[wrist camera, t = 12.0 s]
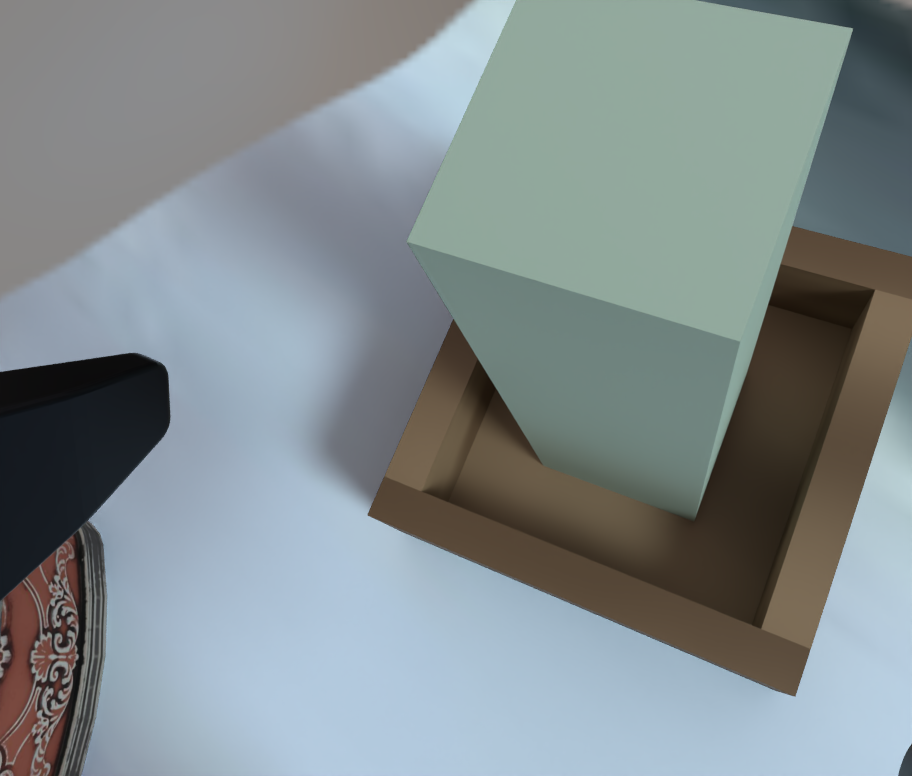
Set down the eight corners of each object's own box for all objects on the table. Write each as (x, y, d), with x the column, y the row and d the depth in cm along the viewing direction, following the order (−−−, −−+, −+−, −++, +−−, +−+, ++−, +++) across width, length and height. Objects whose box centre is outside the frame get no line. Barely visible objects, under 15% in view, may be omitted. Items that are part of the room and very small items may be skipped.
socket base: (776, 691, 20) (794, 696, 17) (402, 532, 23) (367, 515, 20) (900, 312, 22) (935, 262, 19) (539, 212, 25) (524, 157, 22)
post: (694, 521, 21) (740, 341, 9) (543, 465, 22) (406, 241, 10) (746, 375, 22) (853, 28, 10) (597, 329, 23) (529, -30, 11)
